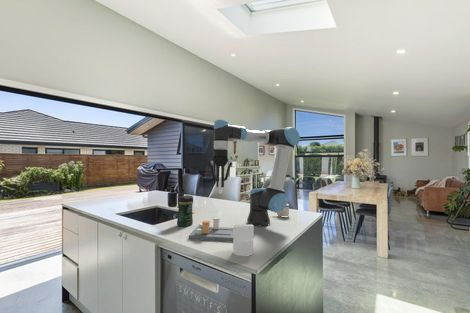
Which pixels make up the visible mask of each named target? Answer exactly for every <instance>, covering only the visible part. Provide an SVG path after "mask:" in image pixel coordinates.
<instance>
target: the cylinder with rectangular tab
mask: <svg viewBox="0 0 470 313" xmlns="http://www.w3.org/2000/svg"><path fill="white" fill-rule="evenodd" d="M233 228H234V236H233V242H232V243H233V244H232V246H233V247H232V248H233V249H232V252H233V254H234V255H236V256H238V257H248V256H251V255H253V254H254V231H255V230H254V225H252V224H248V223H247V224H233Z"/></svg>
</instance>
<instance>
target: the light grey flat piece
mask: <svg viewBox="0 0 470 313" xmlns="http://www.w3.org/2000/svg"><path fill="white" fill-rule="evenodd" d="M203 221H204V220H202V221H200V223H199V224H198V226H199V227H202V228H203V224H202V222H203ZM210 225H211V222H210V223H209V226H210Z"/></svg>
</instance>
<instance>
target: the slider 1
mask: <svg viewBox="0 0 470 313" xmlns="http://www.w3.org/2000/svg"><path fill="white" fill-rule="evenodd" d="M202 221H203V222H202ZM202 221H201V222H202V224H203V228H202V233H205V234H208V233H209V227H210V225H209V223H210V224H211V220H202Z"/></svg>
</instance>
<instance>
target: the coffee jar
mask: <svg viewBox="0 0 470 313" xmlns="http://www.w3.org/2000/svg"><path fill="white" fill-rule="evenodd" d="M193 196H194V195H187V194H186V195H182V196H179V197H178V199H177V204H178V211H177V218H176V219H177V220H176V225H177V226H178V227H181V228H182V227H189V226H192V225H193V222H194V221H193V220H194V219H193V204H194V197H193Z"/></svg>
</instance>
